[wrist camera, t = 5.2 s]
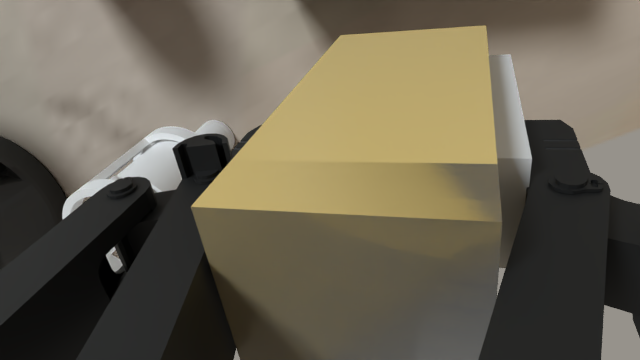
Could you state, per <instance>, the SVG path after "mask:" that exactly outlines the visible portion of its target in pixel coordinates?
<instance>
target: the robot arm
mask: <svg viewBox="0 0 640 360" xmlns="http://www.w3.org/2000/svg"><path fill="white" fill-rule="evenodd" d="M489 66H490V78H491V90H492V103H493V115H494V127H495V139H496V151H497V164H498V176H499V188H500V200H501V213H502V233H501V246H500V259H499V268H506V270H505V273H504V276H503V279H502V283H501V286H500V289H499V293H498V296H497V299H496V303H495V306H494V309H493V313H492V316H491V319H490V323H489V326H488V329H487V333H486V336H485V339H484V343H483V346H482V349H481V353H480V356H479V359H478V360H601V348H602V330H603V313H604V311H603V310H604V305H607V306H610V307H613V308H617V309H620V310H623V311H627V312H630V313H633V321H634V323H635V326H636V329H637V332H638V334H639V337H640V204H636V203H632V202H627V201H624V200H621V199H618V198H616V197H613V196H611V195H610V188H609V185H608V183H607V182H606V181H604V180H603V179H602V178H601V177H600V176H597V175H595V174H593V173H590V170H589V168H588V166H587V163H586V160H585V158H584V155H583V153H582V150H581V149H580V145H579V143H578V141H577V137H576V135H575V132H574V130H573V128H571V127H570V126H568V125H567V124H566V123H564V122H563V121H561V120H524V117H523V112H522V107H521V102H520V97H519V92H518V88H517V83H516V78H515V73H514V68H513V63H512V58H511V54H507V55H489ZM261 126H262V125H260V126H258V127H257V128H255V129H253V130H251V131H250V132H248V133H247V134H246V135H245V136H244V138H243V139H242V140H241V142H239V143H238V144H237V145H236V146H235V147H234V149H233V150H232V151H231V150H230V146H229V142H228V138H227V137H225V136H224V135H221V134H217V133H215V134H202V135H197V136H194V137H191V138H188V139H185V140H183V141H182V142H180V143H178V144H177V145H176V146H175V147H173V148H172V150H173V153H174V156H175V159H176V162H177V165H178V168H179V171H180V174H181V177H182V180H181V182H180V184H179V185H178V187H177V189H176V190H170V191H163V192H157V193H154V191H153V188H152V186H151V183H150V181H149V180H148V179H147V178H144V177H125V178H124V179H123V178H121V179H118V180H116V181H115V182H113V183H110V184H108V185H107V186H105V187H104V188H102V189H100V190H99V191H98V192H97V193H95V194H94V195H93V196H92V197H90V198H89V199H88V200H87V201H85V202H84V203H83V204H82V205H81V206H79V207H78V208H77V209H76V210H74V211H73V212H72V213H71V214H69V215H68V216H67V217H66V218H64V219H63V218H62V211H63V206H64V203H65V201H66V197H65V195H64V194H63V192H62V190H61V188H60V187H59V185H58V184H57V182H56V181H55V180H54V178H53V177H52V176H51V174H50V173H49V172H48V171H47V170H46V169H45V168H44V167H43V166H42V165H41V164H40V163H39V162H38V161H37V160H36V159H35V158H34V157H33V156H31V155H30V154H29V153H28V152H26V151H25V150H24V149H22V148H21V147H19V146H18V145H16V144H14V143H12V142H11V141H9V140H7V139H5V138H2V137H0V360H233V359H234V355H235V351H236V345H235V342H234V339H233V336H232V333H231V329H230V326H229V323H228V320H227V317H226V314H225V311H224V308H223V305H222V302H221V299H220V296H219V293H218V289H217V286H216V283H215V280H214V277H213V274H212V271H211V268H210V265H209V262H208V259H207V256H206V253H205V249H204V246H203V243H202V240H201V237H200V234H199V231H198V228H197V225H196V222H195V219H194V216H193V213H192V210H191V206H192V205H193V203H194V202H195V201H196V200H197V199H198V198H199V197H200V195H201V194H202V193H203V192H204V191H205V190H206V189H207V187H208V186H209V185H210V184H211V183H212V182H213V181H214V179H215V178H216V177H217V176H218V175H219V174H220V173H221V171H222V170H223V169H224V168H225V167H226V166H227V165H228V163H229V162H230V161H231V160H232V159H233V158H234V157H235V155H236V154H237V153H238V152H239V151H240V150H241V149H242V147H243V146H244V145H245V144H246V143H247V142H248V141H249V139H250V138H251V137H252V136H253V135H254V134H255V133H256V131H257V130H258V129H259V128H260V127H261ZM113 247H115V249H116V251H117V254H118V256H119V258H120V260H121V263H122V265H123V266H122V267H121V268H120V269H119V270H117V271H116V272H114V271H113V270H112V268H111V266H110V264H109V262H108V259H107V257H106V254H107V253H108V252H109V251H110V250H111V249H112V248H113Z"/></svg>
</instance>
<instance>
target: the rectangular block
mask: <svg viewBox="0 0 640 360" xmlns="http://www.w3.org/2000/svg"><path fill="white" fill-rule="evenodd" d="M191 210H192V213H193V216H194V219H195V222H196V225H197V228H198V231H199V234H200V237H201V240H202V243H203V246H204V249H205V253H206V256H207V259H208V262H209V265H210V268H211V271H212V274H213V277H214V280H215V283H216V286H217V289H218V293H219V296H220V299H221V302H222V305H223V308H224V311H225V314H226V317H227V320H228V323H229V326H230V329H231V333H232V336H233V339H234V342H235V345H236V348H237V351H238V354H239V357H240V360H478V359H479V356H480V353H481V349H482V346H483V343H484V339H485V336H486V333H487V329H488V326H489V323H490V319H491V316H492V313H493V309H494V306H495V303H496V298H497V285H498V272H499V259H500V246H501V233H502V213H501V200H500V188H499V176H498V164H497V151H496V139H495V127H494V115H493V103H492V90H491V78H490V66H489V54H488V42H487V29H486V25H484V26H469V27H455V28H440V29H425V30H410V31H395V32H381V33H366V34H351V35H340V36H339V38H338V39H337V40H336V41H335V42H334V43H333V44H332V46H331V47H330V48H329V49H328V50H327V51H326V52H325V54H324V55H323V56H322V57H321V58H320V59H319V60H318V62H317V63H316V64H315V65H314V66H313V67H312V69H311V70H310V71H309V72H308V73H307V74H306V75H305V77H304V78H303V79H302V80H301V81H300V82H299V83H298V85H297V86H296V87H295V88H294V89H293V90H292V91H291V93H290V94H289V95H288V96H287V97H286V98H285V99H284V101H283V102H282V103H281V104H280V105H279V106H278V107H277V109H276V110H275V111H274V112H273V113H272V114H271V115H270V117H269V118H268V119H267V120H266V121H265V122H264V123H263V125H262V126H261V127H260V128H259V129H258V130H257V131H256V133H255V134H254V135H253V136H252V137H251V138H250V139H249V141H248V142H247V143H246V144H245V145H244V146H243V147H242V149H241V150H240V151H239V152H238V153H237V154H236V155H235V157H234V158H233V159H232V160H231V161H230V162H229V163H228V165H227V166H226V167H225V168H224V169H223V170H222V171H221V173H220V174H219V175H218V176H217V177H216V178H215V179H214V181H213V182H212V183H211V184H210V185H209V186H208V187H207V189H206V190H205V191H204V192H203V193H202V194H201V195H200V197H199V198H198V199H197V200H196V201H195V202H194V203H193V205H192V206H191Z"/></svg>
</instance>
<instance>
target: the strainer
mask: <svg viewBox="0 0 640 360" xmlns="http://www.w3.org/2000/svg"><path fill="white" fill-rule="evenodd" d="M215 133H217V134H221V135H224V136H225V137H227V138H228V142H229V146H230V150H231V149H232V148H233V146H234V143H235V139H234V135H233V133H232V131H231V129H230V128H229V127H228V126H227V125H226V124H224V123H223V122H221V121H217V120H210V121H207V122H205V123H204V124H203V125H202V126H201V127H200V128H199V129H198V130H197V131H196V132H193V131H190V130H188V129H185V128H181V127H175V126H167V127H162V128H159V129H156V130H154V131H153V132H152V133H150V134H149V135H148V136H146V137H145V138H144V139H143V140H141V141H140V142H139V143H137V144H136V145H135V146H133V147H132V148H131V149H130V150H128V151H127V152H126V153H124V154H123V155H122V156H121V157H119V158H118V159H117V160H115V161H114V162H113V163H112V164H110V165H109V166H108V167H106V168H105V169H104V170H103V171H101V172H100V173H99V174H97V175H96V176H95V177H94V178H92V179H91V180H90V181H88V182H87V183H86V184H85V185H83V186H82V187H81V188H79V189H78V190H77V191H76V192H74V193H73V194H72V195H70V196H69V197H68V198H67V200H66V201H65V203H64V206H63V211H62V218H63V219H64V218H66V217H67V216H68V215H69V214H71V213H72V212H73V211H74V210H76V209H77V208H78V207H79V206H81V205H82V203H83V199H84V198H85V197H90V196H93V195H94V194H95V193H97V192H98V191H99V190H100V189H102V188H104V187H105V186H107V185H108V184H110V183H113V182H115V181H116V180H118V179H121V178H123V179H124V178H125V177H144V178H147V179H148V180H149V181H150V183H151V186H152V188H153V191H154V193H157V192H163V191H170V190H176V189H177V187H178V185H179V184H180V182H181V180H182V177H181V174H180V171H179V168H178V165H177V162H176V159H175V156H174V153H173V150H172V148H173V147H175V146H176V145H177V144H178V143H180V142H182V141H183V140H185V139H188V138H191V137H194V136H197V135H202V134H215ZM132 159H133V162H132V163H131V164H130V165H129V166H127V167H126V168H125V169H124V170H122V171H121V172H120V173H119V174H118V175H114V176H113V177H112V178H111V179H108V178H110V177H111V176H112V175H113V174H115V173H116V172H117V171H118V170H120V169H121V168H122V167H123V166H124V165H126V164H127V163H128V162H129V161H131V160H132ZM115 250H116V249H115V247H113V248H112V249H111V250H110V251H109V252H108V253H107V254H106V257H107V259H108V262H109V264H110V266H111V268H112V270H113V271H114V272H116V271H117V270H119V269H120V268H121V267H122V266H123V265H122V263H121V260H120V259H119V258H117V257H115V256H114V255H112V253H113V252H114V251H115Z"/></svg>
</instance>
